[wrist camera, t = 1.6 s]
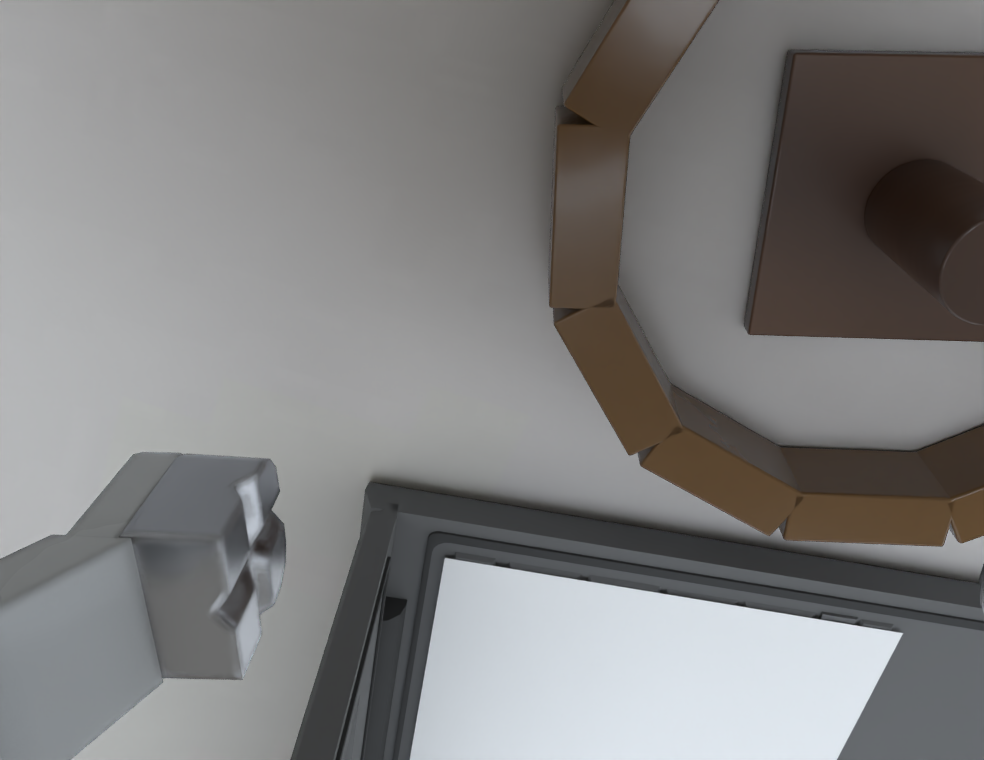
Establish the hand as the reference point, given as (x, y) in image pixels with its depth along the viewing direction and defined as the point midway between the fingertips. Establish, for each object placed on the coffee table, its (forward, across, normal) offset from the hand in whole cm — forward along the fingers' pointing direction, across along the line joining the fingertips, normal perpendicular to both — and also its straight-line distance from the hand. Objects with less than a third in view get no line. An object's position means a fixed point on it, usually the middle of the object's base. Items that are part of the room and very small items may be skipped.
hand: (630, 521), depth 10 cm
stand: (+13, -8, 0) cm, 16 cm away
